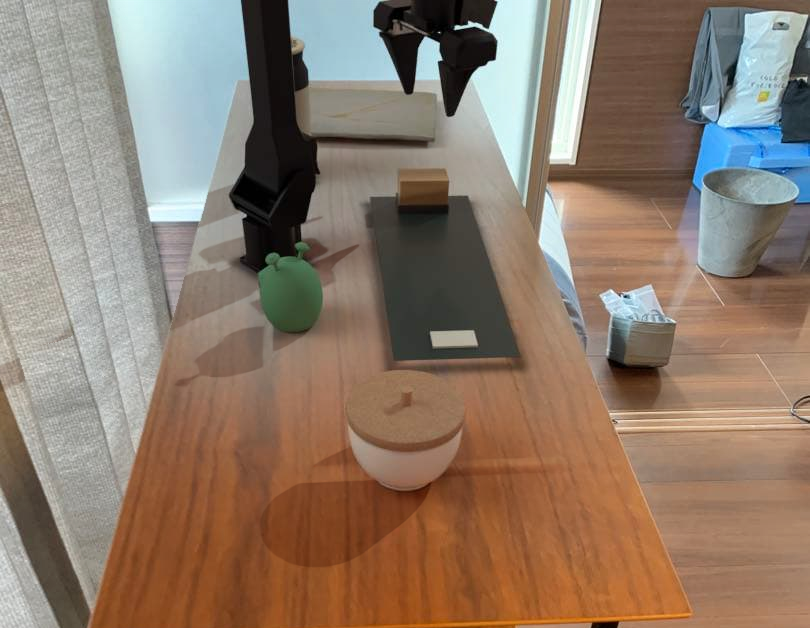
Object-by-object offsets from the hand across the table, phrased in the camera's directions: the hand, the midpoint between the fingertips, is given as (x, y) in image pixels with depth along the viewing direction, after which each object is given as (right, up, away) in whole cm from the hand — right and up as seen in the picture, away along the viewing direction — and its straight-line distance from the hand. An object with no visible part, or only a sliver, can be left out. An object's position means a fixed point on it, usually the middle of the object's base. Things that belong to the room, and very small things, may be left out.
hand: (429, 104), depth 108 cm
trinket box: (-3, -51, -29) cm, 59 cm away
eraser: (-1, -11, +6) cm, 13 cm away
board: (+1, -24, -4) cm, 24 cm away
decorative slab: (-11, +13, +30) cm, 35 cm away
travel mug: (-21, -4, +14) cm, 25 cm away
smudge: (+2, -35, -16) cm, 39 cm away
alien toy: (-16, -33, -13) cm, 39 cm away
